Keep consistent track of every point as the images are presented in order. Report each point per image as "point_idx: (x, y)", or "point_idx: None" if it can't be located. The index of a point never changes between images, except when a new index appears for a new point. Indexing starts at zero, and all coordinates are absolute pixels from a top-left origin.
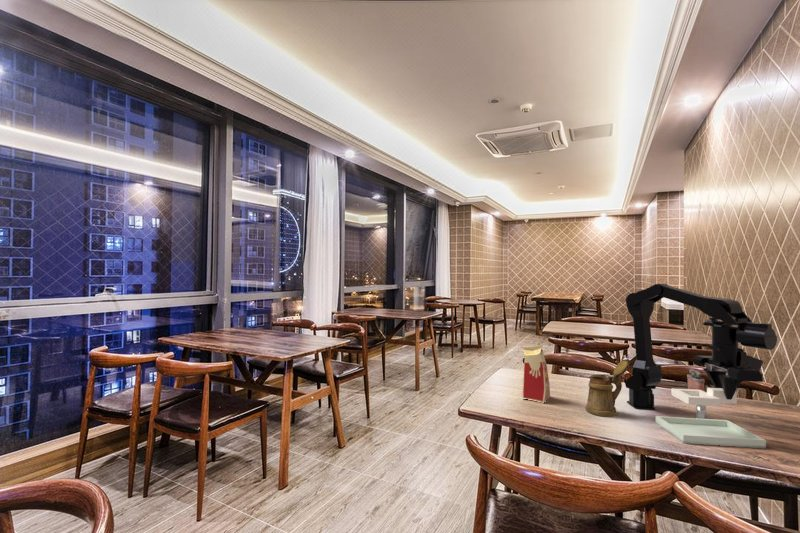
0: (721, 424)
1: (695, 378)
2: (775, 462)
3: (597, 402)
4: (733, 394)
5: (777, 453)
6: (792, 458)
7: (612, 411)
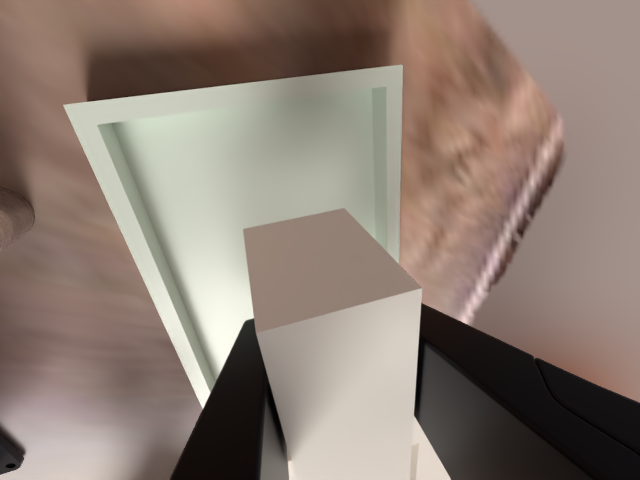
0: (120, 154)
1: None
2: (497, 123)
3: None
4: (437, 315)
5: (424, 43)
6: (467, 4)
7: None
